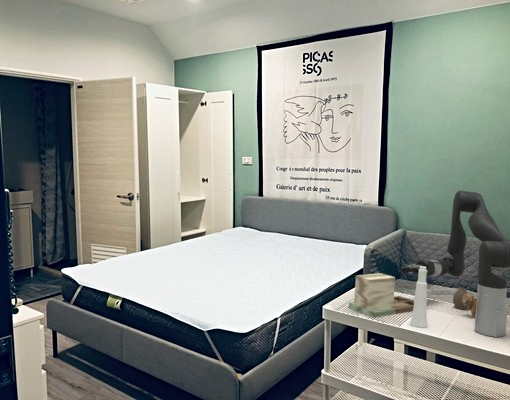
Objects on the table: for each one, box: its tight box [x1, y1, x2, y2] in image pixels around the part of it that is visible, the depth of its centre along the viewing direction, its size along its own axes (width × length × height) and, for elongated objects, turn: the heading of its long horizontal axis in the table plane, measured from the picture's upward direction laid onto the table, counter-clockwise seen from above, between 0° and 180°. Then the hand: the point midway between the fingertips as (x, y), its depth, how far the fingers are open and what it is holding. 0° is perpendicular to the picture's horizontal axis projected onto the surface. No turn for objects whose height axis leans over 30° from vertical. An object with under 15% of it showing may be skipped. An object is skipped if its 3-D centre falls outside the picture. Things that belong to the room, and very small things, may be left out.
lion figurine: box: [462, 293, 477, 319], centre depth 175 cm, size 15×5×9 cm, turn 48°
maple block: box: [353, 272, 396, 310], centre depth 180 cm, size 8×14×12 cm, turn 120°
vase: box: [452, 287, 469, 310], centre depth 190 cm, size 7×7×9 cm
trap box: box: [348, 295, 414, 318], centre depth 184 cm, size 14×30×2 cm, turn 120°
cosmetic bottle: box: [409, 266, 428, 329], centre depth 164 cm, size 6×6×22 cm
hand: (401, 270), depth 187 cm, fingers closed
